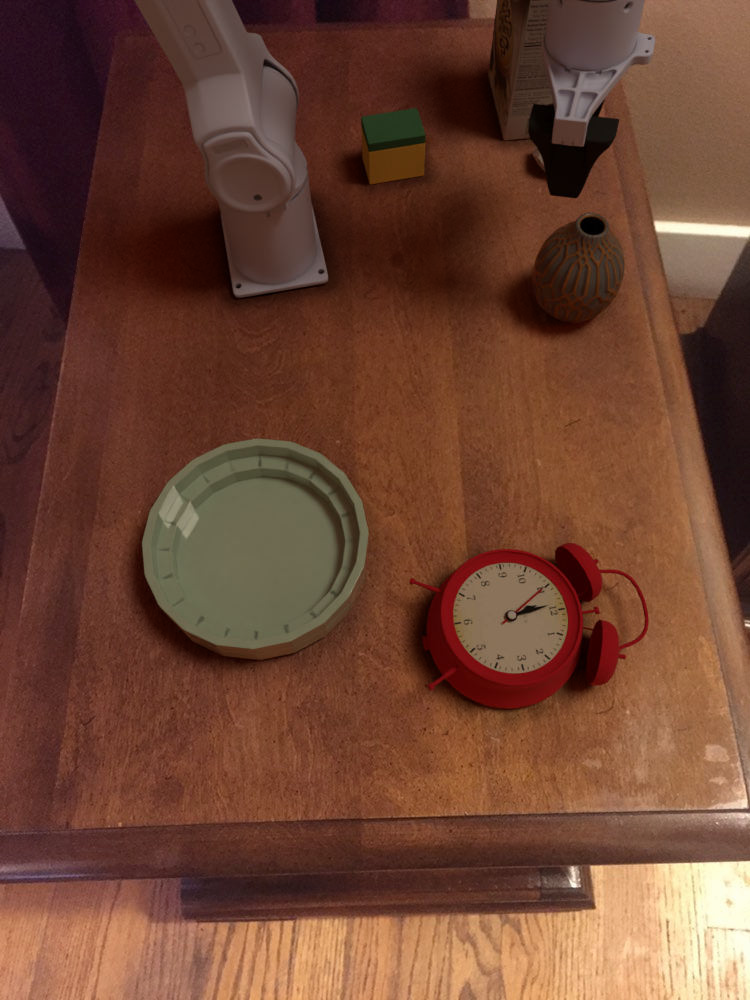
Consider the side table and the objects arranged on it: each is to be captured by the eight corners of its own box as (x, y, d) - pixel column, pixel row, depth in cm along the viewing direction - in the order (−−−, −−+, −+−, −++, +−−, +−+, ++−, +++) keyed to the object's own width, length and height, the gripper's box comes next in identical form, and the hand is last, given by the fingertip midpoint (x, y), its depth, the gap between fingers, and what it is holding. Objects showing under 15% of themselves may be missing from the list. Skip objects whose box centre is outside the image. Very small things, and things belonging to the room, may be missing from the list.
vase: (607, 342, 66) (637, 268, 58) (521, 329, 66) (539, 254, 58) (614, 275, 69) (643, 196, 61) (532, 263, 69) (550, 183, 61)
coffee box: (485, 75, 79) (506, -108, 64) (550, 69, 79) (587, -115, 65) (501, 143, 75) (528, -35, 61) (570, 136, 75) (614, -43, 61)
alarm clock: (398, 556, 54) (626, 502, 52) (417, 583, 60) (622, 536, 58) (427, 713, 50) (676, 663, 48) (443, 727, 56) (667, 682, 53)
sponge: (369, 185, 73) (368, 144, 69) (362, 157, 75) (360, 116, 71) (424, 176, 74) (425, 134, 70) (415, 149, 75) (417, 107, 71)
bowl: (147, 482, 61) (134, 460, 58) (347, 445, 62) (344, 421, 59) (166, 681, 55) (152, 669, 52) (388, 636, 56) (388, 621, 53)
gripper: (653, 60, 45) (613, 236, 57) (685, -100, 50) (642, 92, 63) (525, 49, 46) (512, 223, 58) (569, -106, 52) (550, 83, 64)
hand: (573, 154), depth 61 cm, fingers open, 7 cm apart
